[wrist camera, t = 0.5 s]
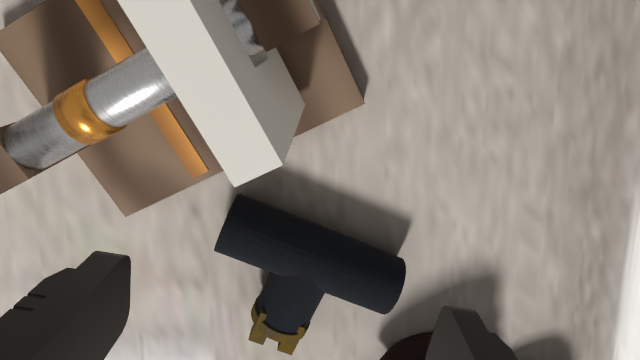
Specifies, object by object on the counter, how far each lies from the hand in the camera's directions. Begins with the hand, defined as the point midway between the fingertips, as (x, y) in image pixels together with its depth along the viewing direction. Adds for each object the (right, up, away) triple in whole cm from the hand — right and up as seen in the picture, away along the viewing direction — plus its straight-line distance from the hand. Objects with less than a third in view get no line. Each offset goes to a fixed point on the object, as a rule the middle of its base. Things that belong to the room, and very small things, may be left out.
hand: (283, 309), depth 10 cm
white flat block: (-4, +13, +17) cm, 22 cm away
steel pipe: (-9, +9, +14) cm, 19 cm away
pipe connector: (-1, -5, +27) cm, 28 cm away
